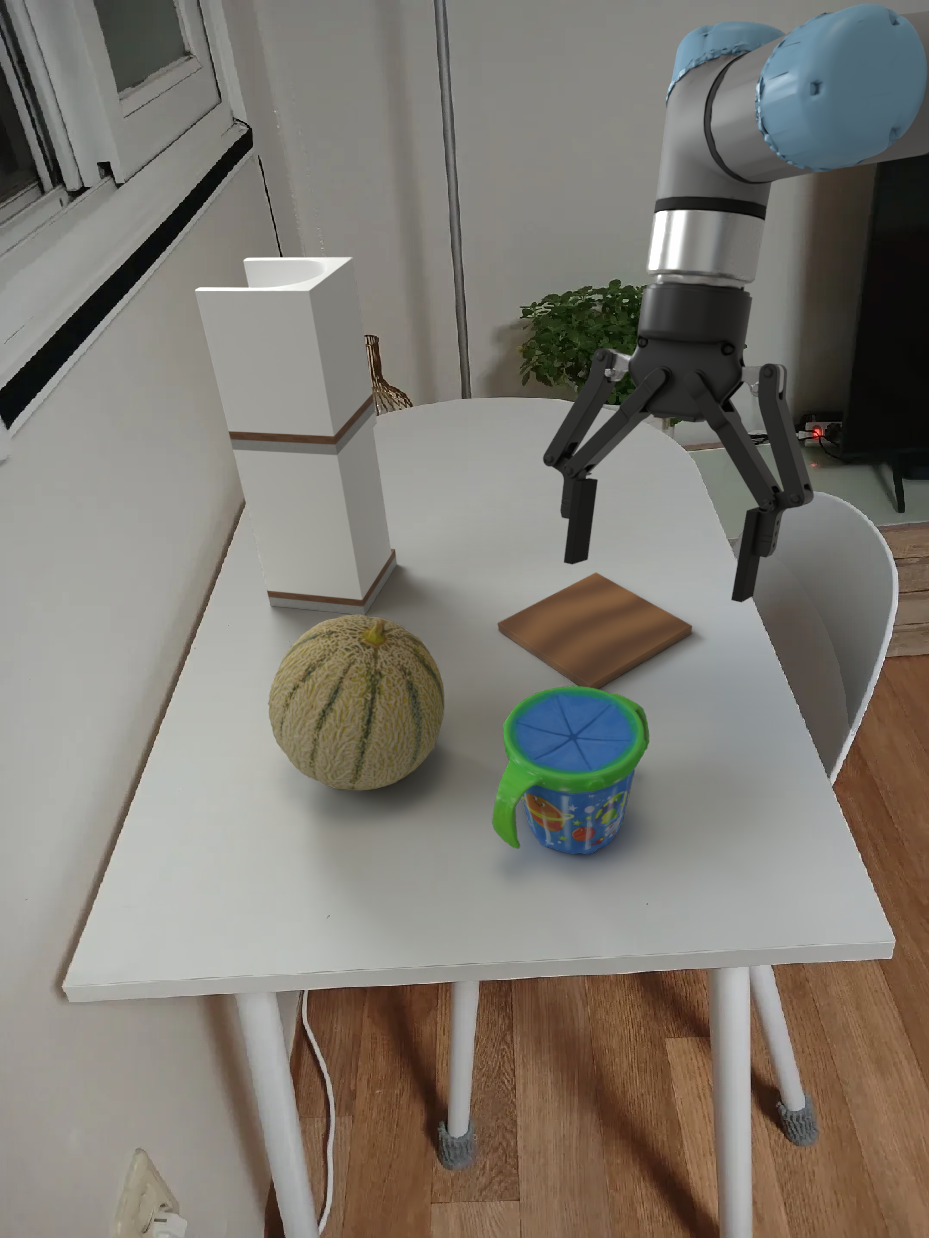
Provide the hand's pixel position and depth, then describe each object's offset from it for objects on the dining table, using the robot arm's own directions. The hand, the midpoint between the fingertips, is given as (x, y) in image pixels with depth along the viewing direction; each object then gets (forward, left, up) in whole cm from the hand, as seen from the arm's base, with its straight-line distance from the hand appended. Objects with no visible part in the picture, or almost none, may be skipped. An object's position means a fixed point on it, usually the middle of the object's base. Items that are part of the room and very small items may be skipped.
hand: (654, 579), depth 73 cm
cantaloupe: (+15, +19, -18) cm, 31 cm away
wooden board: (+16, -9, -18) cm, 26 cm away
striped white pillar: (+43, +6, -18) cm, 47 cm away
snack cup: (-2, +10, -18) cm, 21 cm away
